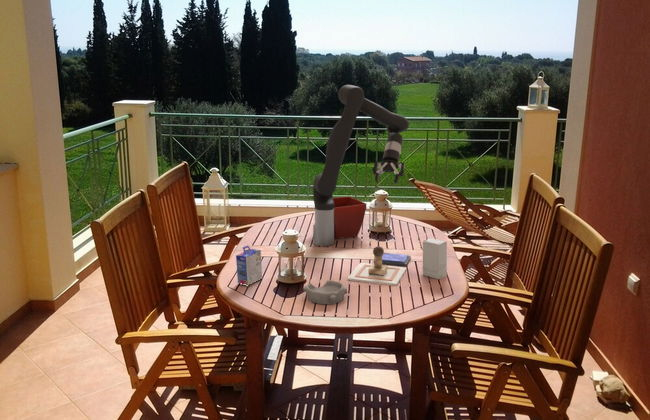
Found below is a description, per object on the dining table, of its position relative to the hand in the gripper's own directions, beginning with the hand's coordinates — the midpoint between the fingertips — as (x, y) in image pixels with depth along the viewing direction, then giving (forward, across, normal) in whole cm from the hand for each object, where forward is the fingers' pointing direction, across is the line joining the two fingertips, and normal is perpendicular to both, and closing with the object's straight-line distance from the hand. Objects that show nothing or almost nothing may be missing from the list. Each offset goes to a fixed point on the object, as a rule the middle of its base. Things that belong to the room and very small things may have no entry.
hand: (386, 182), depth 288 cm
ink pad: (+36, +8, +8) cm, 37 cm away
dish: (+71, -6, -27) cm, 76 cm away
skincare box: (+45, +28, -1) cm, 53 cm away
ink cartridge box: (+66, -40, -22) cm, 81 cm away
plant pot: (+13, -25, +31) cm, 42 cm away
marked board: (+49, +6, -6) cm, 50 cm away
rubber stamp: (+48, +6, -6) cm, 49 cm away
